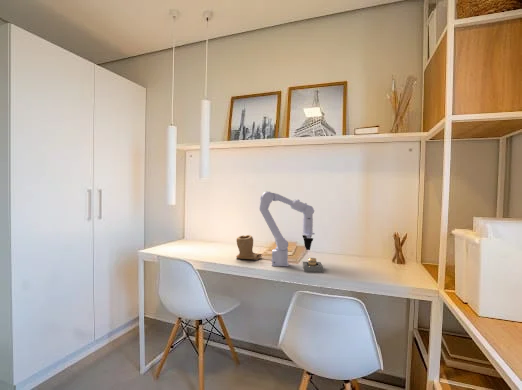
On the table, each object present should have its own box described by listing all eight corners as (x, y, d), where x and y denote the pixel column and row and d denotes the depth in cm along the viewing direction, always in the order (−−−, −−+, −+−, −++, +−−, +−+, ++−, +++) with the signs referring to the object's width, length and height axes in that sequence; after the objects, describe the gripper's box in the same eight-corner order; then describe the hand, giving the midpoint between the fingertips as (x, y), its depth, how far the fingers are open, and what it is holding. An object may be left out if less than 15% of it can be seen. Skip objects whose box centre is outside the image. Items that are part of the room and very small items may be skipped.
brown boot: (232, 260, 175) (233, 236, 174) (240, 256, 186) (240, 233, 186) (255, 262, 170) (256, 237, 170) (262, 258, 181) (262, 234, 181)
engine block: (304, 271, 152) (304, 266, 152) (302, 266, 162) (302, 261, 162) (323, 272, 151) (323, 266, 151) (320, 267, 161) (320, 261, 161)
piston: (308, 270, 154) (309, 259, 154) (307, 268, 159) (307, 257, 158) (317, 270, 154) (317, 259, 154) (315, 268, 159) (315, 257, 159)
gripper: (316, 227, 159) (315, 251, 159) (313, 224, 173) (312, 246, 174) (303, 227, 160) (303, 251, 160) (301, 223, 174) (301, 245, 174)
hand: (307, 248), depth 167 cm, fingers open, 7 cm apart
